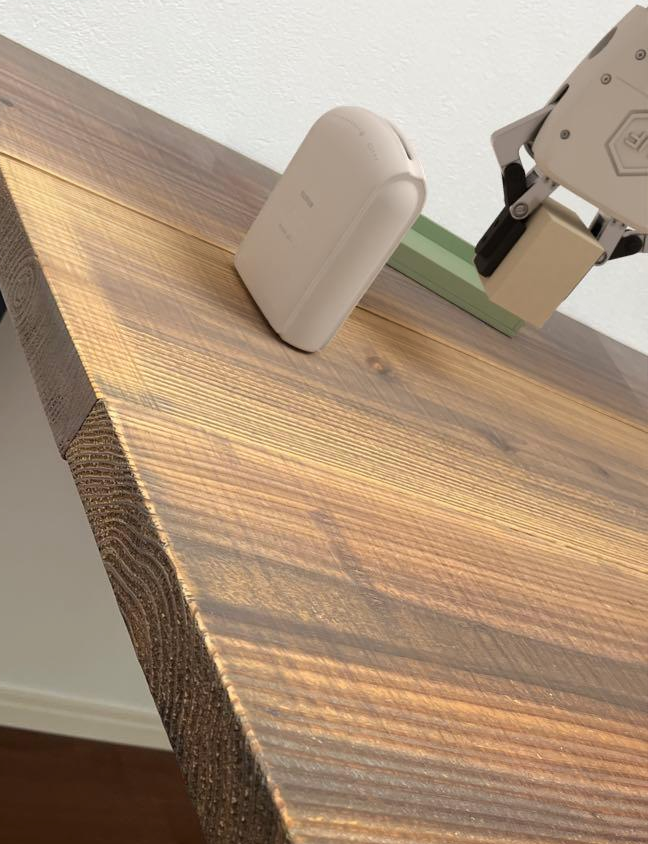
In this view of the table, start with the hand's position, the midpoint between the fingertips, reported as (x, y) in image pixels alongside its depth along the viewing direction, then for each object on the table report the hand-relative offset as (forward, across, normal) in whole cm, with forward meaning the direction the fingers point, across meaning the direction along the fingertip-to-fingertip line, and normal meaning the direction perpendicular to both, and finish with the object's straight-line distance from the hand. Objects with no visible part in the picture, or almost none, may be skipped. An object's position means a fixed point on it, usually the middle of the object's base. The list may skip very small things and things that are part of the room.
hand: (511, 284), depth 70 cm
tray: (+7, +2, +24) cm, 25 cm away
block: (+1, 0, 0) cm, 1 cm away
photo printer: (+7, -14, -8) cm, 18 cm away
